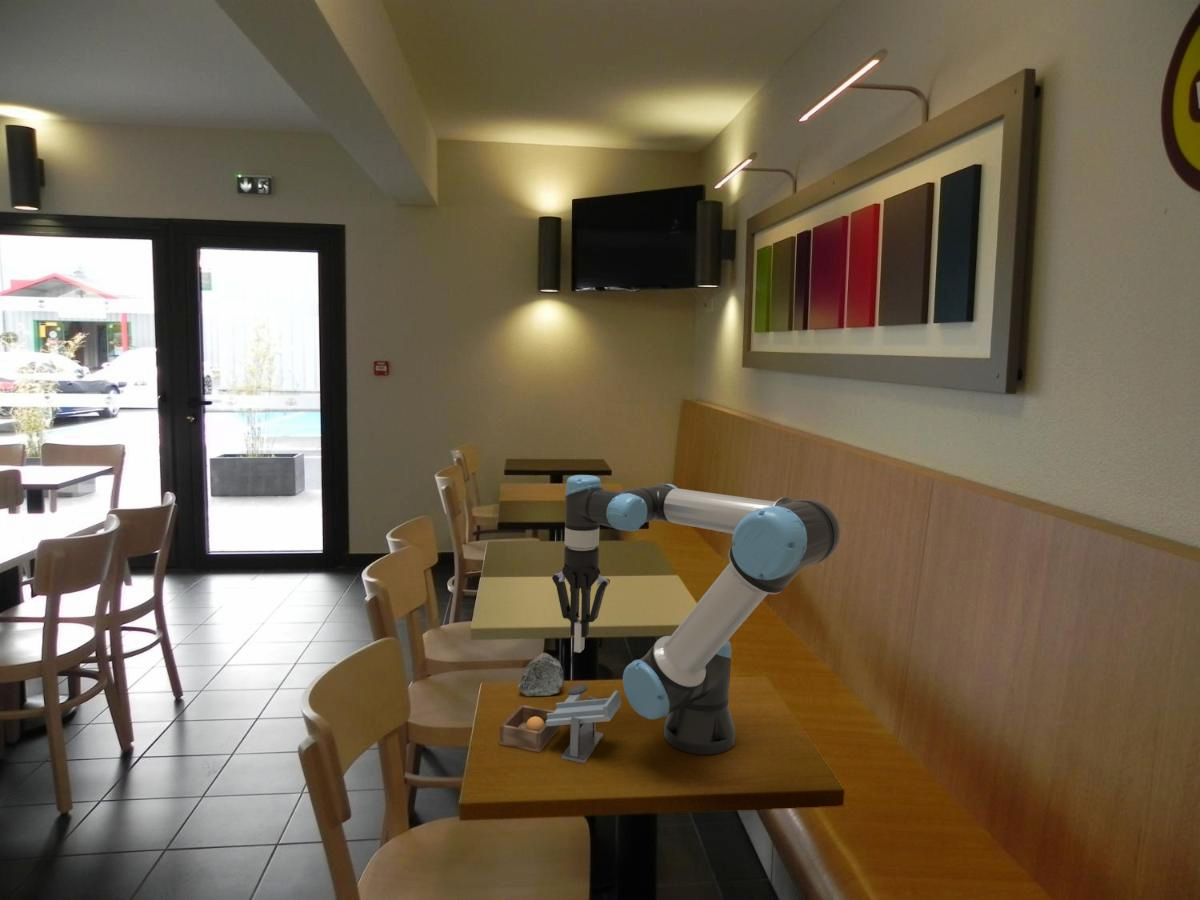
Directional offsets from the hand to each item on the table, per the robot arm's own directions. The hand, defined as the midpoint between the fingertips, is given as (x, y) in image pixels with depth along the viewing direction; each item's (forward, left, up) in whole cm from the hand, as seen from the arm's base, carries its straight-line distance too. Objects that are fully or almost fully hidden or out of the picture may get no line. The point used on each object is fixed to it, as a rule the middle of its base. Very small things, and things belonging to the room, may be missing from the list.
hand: (579, 649), depth 174 cm
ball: (+3, +11, -14) cm, 18 cm away
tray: (+7, +11, -16) cm, 21 cm away
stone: (+13, -11, -16) cm, 23 cm away
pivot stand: (-5, +11, -16) cm, 20 cm away
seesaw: (-5, +7, -9) cm, 13 cm away
